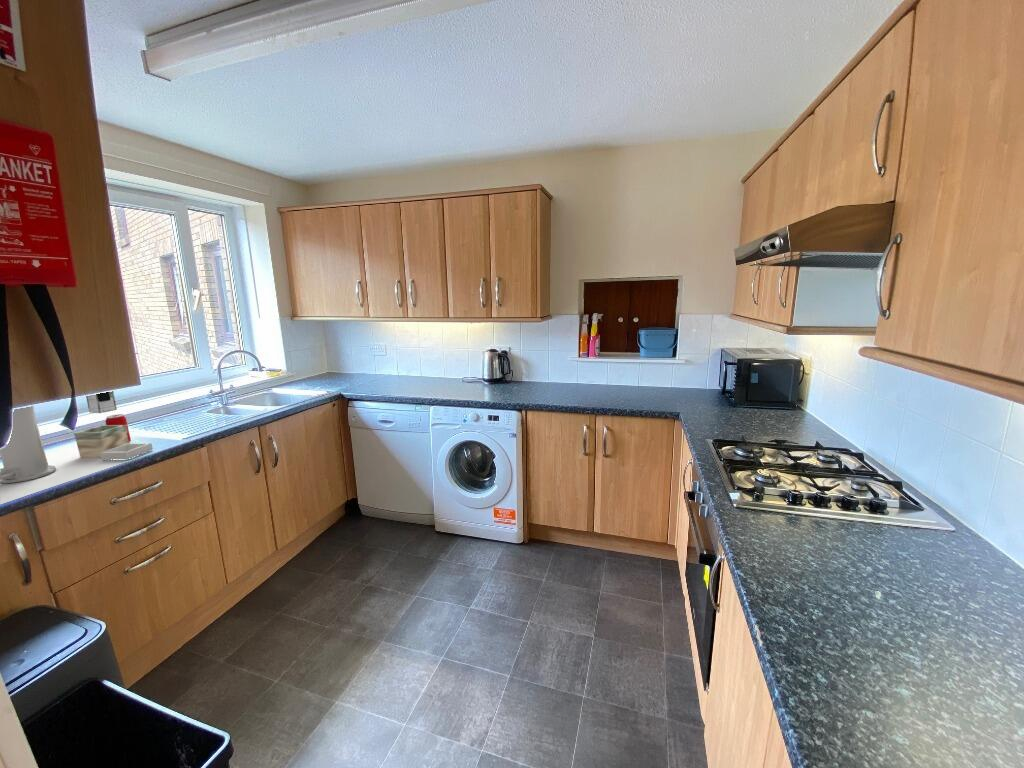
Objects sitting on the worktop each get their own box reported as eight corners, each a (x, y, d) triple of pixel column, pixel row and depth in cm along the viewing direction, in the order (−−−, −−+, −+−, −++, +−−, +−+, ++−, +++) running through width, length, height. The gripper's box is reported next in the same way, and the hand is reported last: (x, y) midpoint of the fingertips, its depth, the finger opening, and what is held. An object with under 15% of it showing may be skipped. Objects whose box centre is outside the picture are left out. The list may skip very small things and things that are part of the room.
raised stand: (104, 457, 159) (98, 432, 157) (80, 457, 159) (74, 433, 157) (130, 447, 168) (124, 424, 166) (106, 448, 169) (101, 425, 167)
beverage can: (107, 447, 170) (100, 418, 168) (116, 442, 176) (110, 414, 174) (125, 445, 172) (119, 417, 169) (134, 440, 178) (128, 413, 175)
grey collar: (128, 460, 154) (126, 452, 153) (102, 460, 155) (100, 452, 154) (153, 450, 164) (151, 443, 163) (128, 450, 165) (127, 443, 164)
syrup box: (107, 409, 162) (99, 372, 159) (117, 410, 160) (109, 372, 158) (89, 412, 157) (80, 374, 154) (99, 413, 155) (90, 374, 152)
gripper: (113, 352, 153) (123, 400, 157) (95, 350, 162) (105, 396, 165) (85, 354, 147) (96, 404, 150) (68, 353, 156) (79, 400, 159)
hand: (100, 399), depth 158 cm, fingers closed on syrup box, 6 cm apart
